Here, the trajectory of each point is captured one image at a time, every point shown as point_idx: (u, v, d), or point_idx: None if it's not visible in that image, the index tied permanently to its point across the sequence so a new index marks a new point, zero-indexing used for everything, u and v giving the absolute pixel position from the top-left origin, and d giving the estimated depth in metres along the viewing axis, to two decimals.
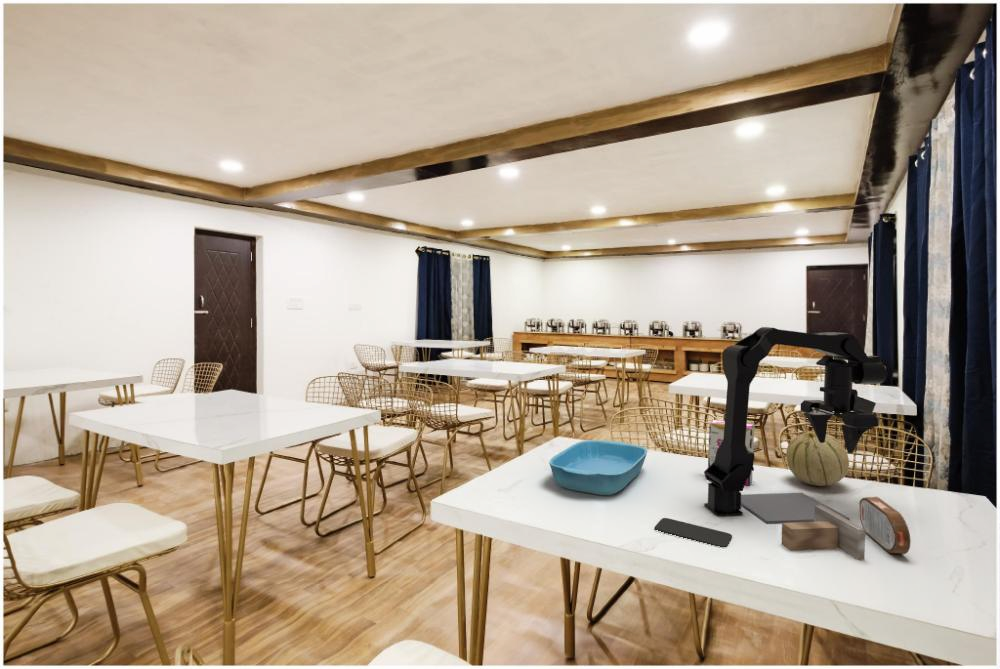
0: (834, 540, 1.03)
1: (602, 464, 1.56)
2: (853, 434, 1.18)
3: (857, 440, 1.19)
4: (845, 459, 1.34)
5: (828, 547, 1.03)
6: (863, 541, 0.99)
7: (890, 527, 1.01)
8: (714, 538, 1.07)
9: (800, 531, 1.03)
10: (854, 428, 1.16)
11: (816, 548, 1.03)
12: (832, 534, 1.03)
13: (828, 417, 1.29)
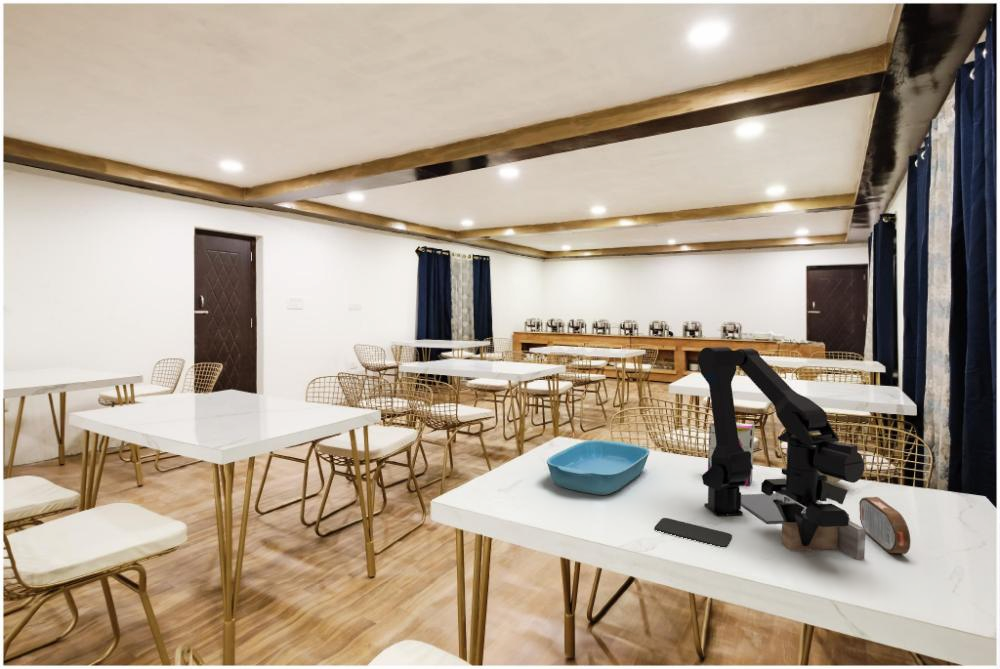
0: (834, 540, 1.03)
1: (604, 464, 1.56)
2: (808, 525, 1.01)
3: (813, 532, 1.01)
4: None
5: (828, 547, 1.03)
6: (863, 541, 0.99)
7: (890, 527, 1.01)
8: (714, 538, 1.07)
9: None
10: (808, 520, 0.99)
11: (816, 548, 1.03)
12: (832, 534, 1.03)
13: (802, 507, 1.06)
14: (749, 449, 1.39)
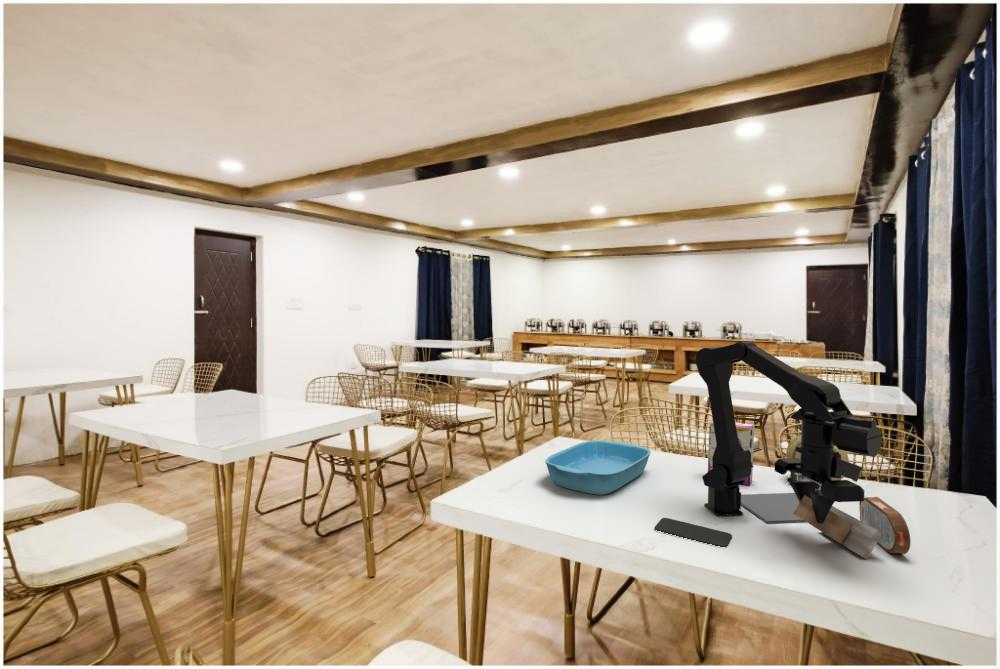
0: (843, 534, 1.03)
1: (606, 464, 1.56)
2: (823, 502, 1.01)
3: (828, 509, 1.01)
4: (845, 459, 1.34)
5: (834, 537, 1.03)
6: (875, 543, 0.99)
7: (890, 527, 1.01)
8: (714, 538, 1.07)
9: None
10: (824, 496, 0.99)
11: (824, 531, 1.03)
12: (844, 528, 1.03)
13: (816, 485, 1.06)
14: (749, 449, 1.39)
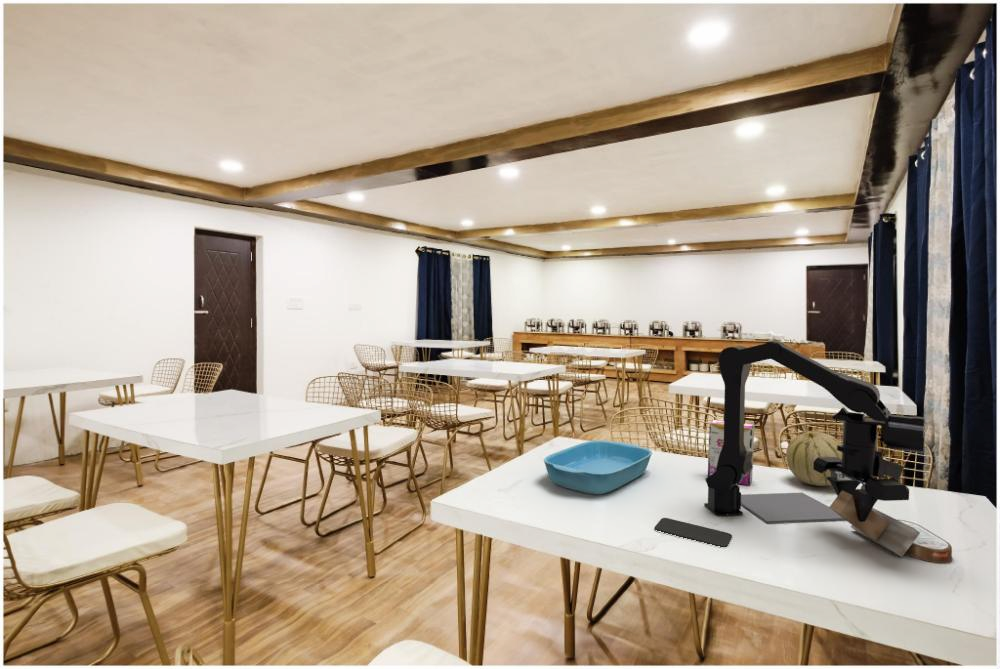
0: (878, 532, 1.04)
1: (608, 465, 1.55)
2: (866, 500, 1.02)
3: (870, 507, 1.02)
4: None
5: (870, 534, 1.04)
6: (911, 541, 1.00)
7: (941, 546, 1.00)
8: (714, 538, 1.07)
9: None
10: (867, 495, 0.99)
11: (860, 527, 1.04)
12: (880, 525, 1.04)
13: (856, 484, 1.07)
14: (749, 449, 1.39)
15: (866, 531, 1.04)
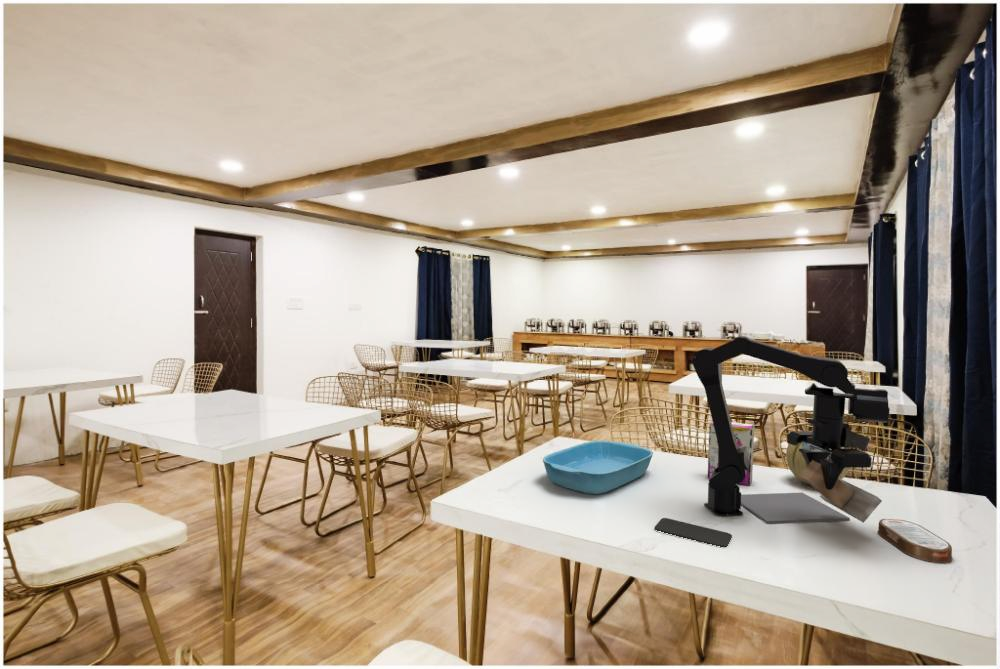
0: (844, 500, 1.11)
1: (609, 465, 1.55)
2: (833, 469, 1.09)
3: (837, 476, 1.09)
4: None
5: (836, 501, 1.11)
6: (873, 508, 1.06)
7: (941, 546, 1.00)
8: (714, 538, 1.07)
9: None
10: (833, 463, 1.06)
11: (827, 494, 1.11)
12: (846, 494, 1.11)
13: (826, 455, 1.14)
14: (749, 449, 1.39)
15: (832, 498, 1.11)
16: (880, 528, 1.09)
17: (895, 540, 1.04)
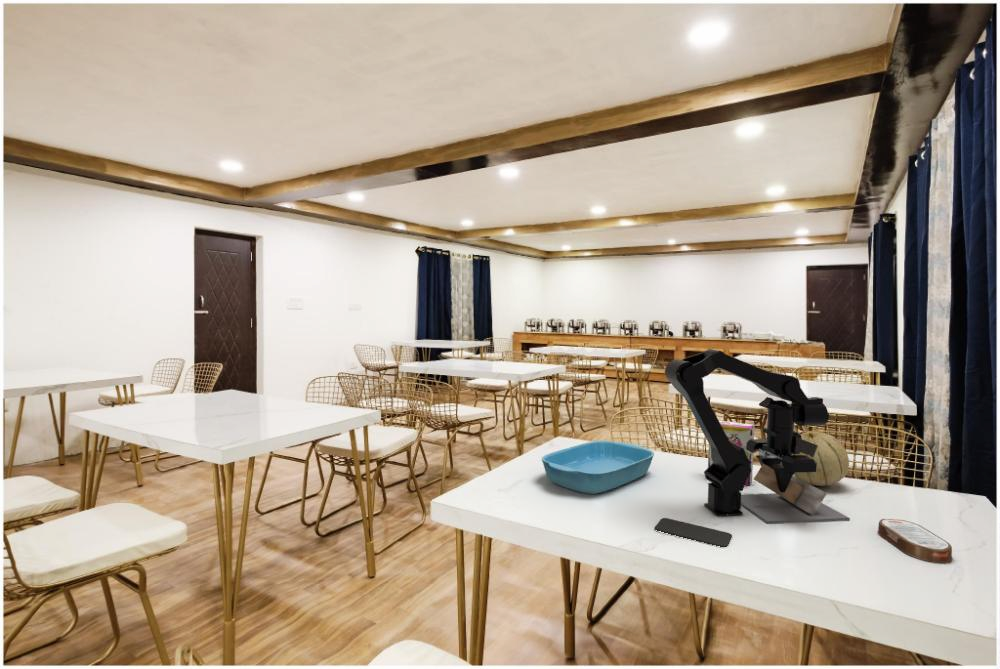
0: (795, 496, 1.22)
1: (611, 465, 1.55)
2: (785, 474, 1.20)
3: (789, 480, 1.21)
4: (845, 459, 1.34)
5: (788, 498, 1.22)
6: (820, 501, 1.18)
7: (941, 546, 1.00)
8: (714, 538, 1.07)
9: None
10: (784, 469, 1.18)
11: (779, 493, 1.22)
12: (796, 490, 1.22)
13: (780, 461, 1.26)
14: None
15: (785, 496, 1.22)
16: (880, 528, 1.09)
17: (895, 540, 1.04)
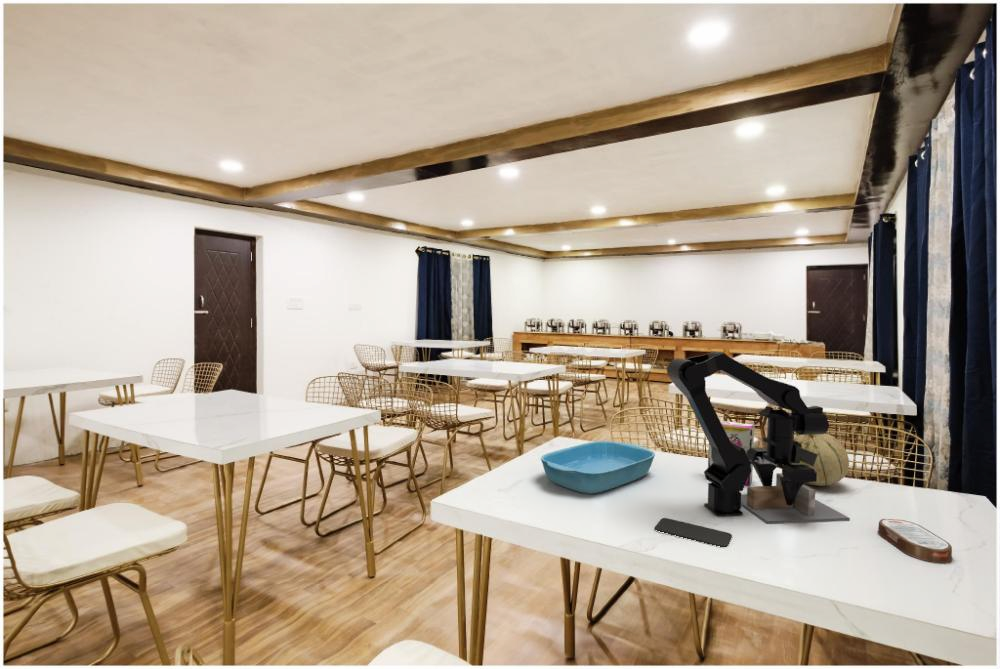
0: None
1: (612, 465, 1.55)
2: (791, 487, 1.18)
3: (796, 492, 1.18)
4: (845, 459, 1.34)
5: (785, 506, 1.22)
6: (813, 500, 1.18)
7: (941, 546, 1.00)
8: (714, 538, 1.07)
9: (762, 493, 1.22)
10: (791, 482, 1.16)
11: (775, 507, 1.22)
12: None
13: (774, 466, 1.28)
14: None
15: (782, 507, 1.22)
16: (880, 528, 1.09)
17: (895, 540, 1.04)
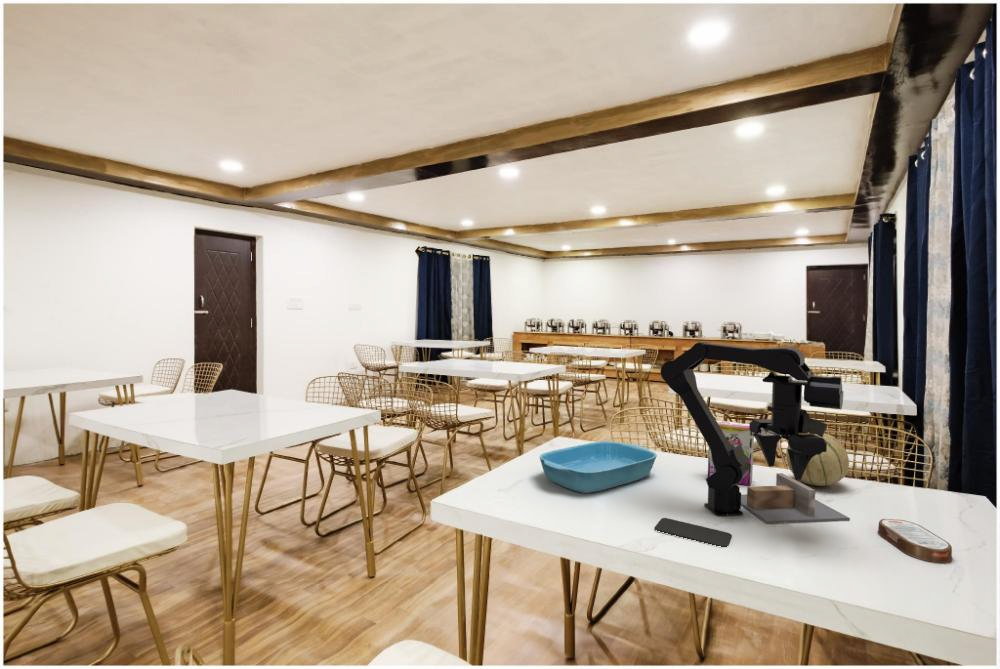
0: (790, 500, 1.22)
1: (614, 466, 1.54)
2: (800, 459, 1.08)
3: (805, 466, 1.08)
4: (845, 459, 1.34)
5: (785, 506, 1.22)
6: (813, 500, 1.18)
7: (941, 546, 1.00)
8: (714, 538, 1.07)
9: (762, 493, 1.22)
10: (800, 453, 1.05)
11: (775, 507, 1.22)
12: (789, 495, 1.22)
13: (778, 438, 1.19)
14: (749, 449, 1.39)
15: (782, 507, 1.22)
16: (880, 528, 1.09)
17: (895, 540, 1.04)
